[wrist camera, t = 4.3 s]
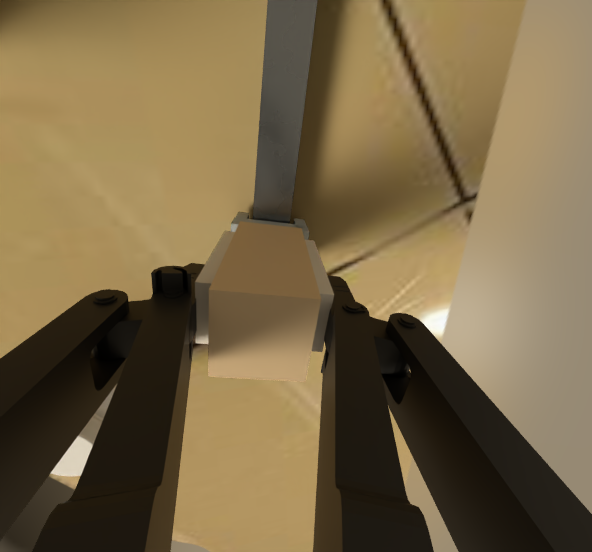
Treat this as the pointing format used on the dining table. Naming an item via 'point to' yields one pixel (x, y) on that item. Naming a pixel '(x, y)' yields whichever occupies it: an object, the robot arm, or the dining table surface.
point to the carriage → (263, 303)
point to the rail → (282, 105)
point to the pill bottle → (82, 444)
